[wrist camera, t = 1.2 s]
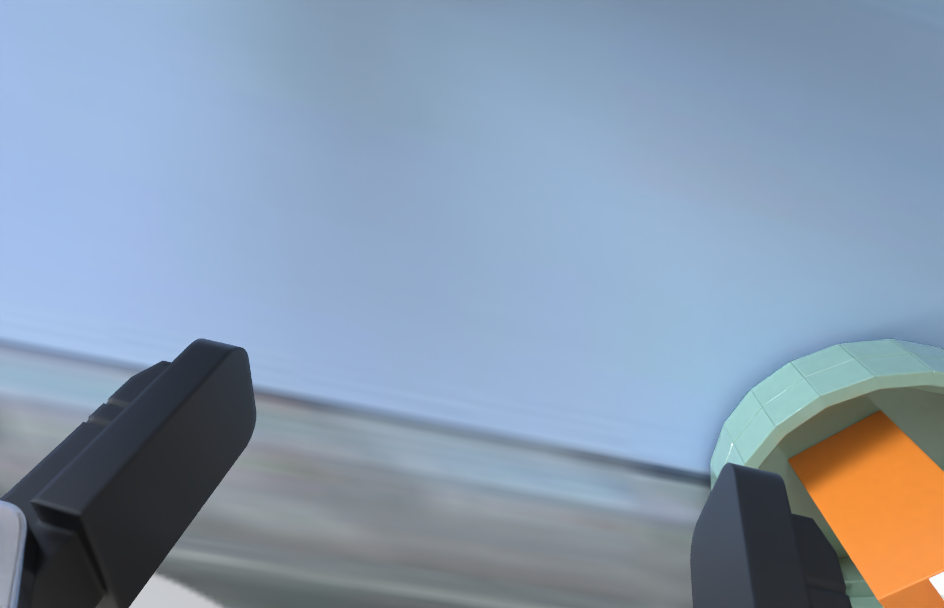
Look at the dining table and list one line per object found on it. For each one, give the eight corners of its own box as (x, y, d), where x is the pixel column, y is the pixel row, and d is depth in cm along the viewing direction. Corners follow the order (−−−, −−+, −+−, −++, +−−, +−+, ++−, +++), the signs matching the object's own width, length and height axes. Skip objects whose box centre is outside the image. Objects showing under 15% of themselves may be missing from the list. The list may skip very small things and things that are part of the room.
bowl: (703, 351, 31) (725, 389, 27) (1025, 319, 29) (1098, 356, 25) (712, 580, 36) (732, 639, 32) (990, 567, 34) (1046, 628, 30)
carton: (786, 459, 32) (888, 617, 23) (880, 408, 31) (1030, 555, 21) (835, 525, 33) (952, 702, 24) (928, 479, 32) (1091, 648, 22)
